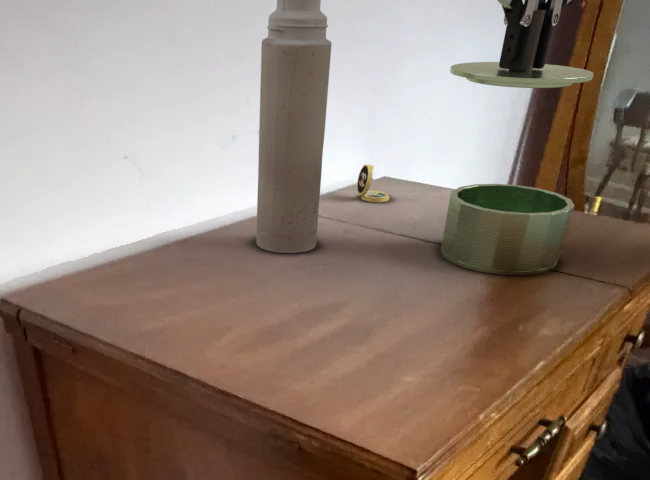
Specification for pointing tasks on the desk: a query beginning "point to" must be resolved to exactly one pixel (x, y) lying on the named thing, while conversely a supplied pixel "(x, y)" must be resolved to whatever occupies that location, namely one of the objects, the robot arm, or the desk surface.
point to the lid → (528, 76)
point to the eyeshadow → (364, 186)
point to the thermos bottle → (292, 126)
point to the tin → (505, 228)
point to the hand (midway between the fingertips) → (521, 66)
